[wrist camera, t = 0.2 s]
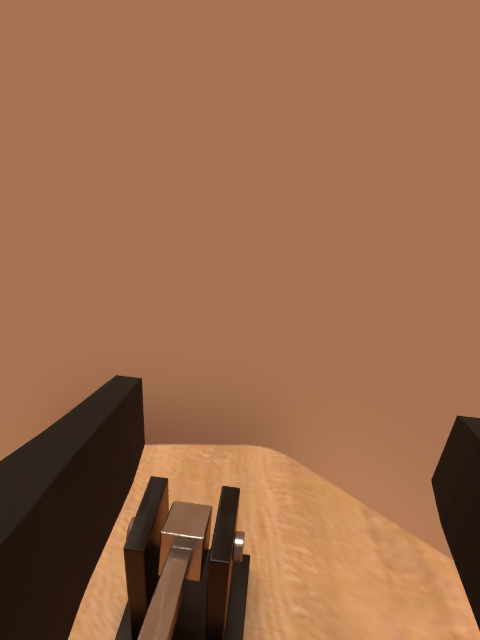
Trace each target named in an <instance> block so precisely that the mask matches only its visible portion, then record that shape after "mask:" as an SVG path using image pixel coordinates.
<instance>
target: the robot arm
mask: <svg viewBox="0 0 480 640" xmlns="http://www.w3.org/2000/svg"><path fill="white" fill-rule="evenodd" d="M144 445H145V440H144V416H143V394H142V378H134V377H125V376H118V375H116V376H115V377H114V378H112V379H111V380H110V381H108V382H107V383H106V384H104V385H103V386H102V387H100V388H99V389H98V390H97V391H95V392H94V393H93V394H92V395H90V396H89V397H88V398H87V399H85V400H84V401H83V402H82V403H80V404H79V405H78V406H76V407H75V408H74V409H72V410H71V411H70V412H69V413H67V414H66V415H65V416H63V417H62V418H61V419H59V420H58V421H57V422H55V423H54V424H53V425H51V426H50V427H49V428H47V429H46V430H45V431H43V432H42V433H40V434H39V435H38V436H36V437H35V438H33V439H32V440H30V441H29V442H27V443H26V444H25V445H23V446H22V447H20V448H19V449H17V450H16V451H14V452H13V453H12V454H10V455H9V456H7V457H6V458H4V459H3V460H1V461H0V640H68V637H69V635H70V632H71V629H72V626H73V623H74V620H75V617H76V614H77V612H78V609H79V606H80V603H81V600H82V598H83V595H84V593H85V590H86V588H87V585H88V583H89V580H90V578H91V576H92V574H93V571H94V569H95V567H96V565H97V562H98V560H99V558H100V556H101V554H102V551H103V549H104V547H105V545H106V542H107V540H108V538H109V536H110V534H111V531H112V529H113V527H114V525H115V522H116V520H117V518H118V516H119V513H120V511H121V509H122V507H123V504H124V502H125V500H126V498H127V495H128V493H129V491H130V488H131V486H132V484H133V481H134V477H135V474H136V471H137V468H138V465H139V462H140V458H141V455H142V452H143V448H144ZM432 486H433V491H434V495H435V500H436V505H437V509H438V512H439V517H440V522H441V525H442V528H443V531H444V534H445V537H446V540H447V543H448V545H449V548H450V551H451V554H452V556H453V559H454V562H455V565H456V568H457V570H458V573H459V576H460V578H461V581H462V584H463V587H464V589H465V592H466V595H467V597H468V600H469V603H470V606H471V608H472V611H473V614H474V616H475V619H476V622H477V625H478V627H479V630H480V418H473V417H464V416H457V418H456V420H455V423H454V425H453V428H452V430H451V433H450V435H449V437H448V440H447V443H446V445H445V447H444V450H443V452H442V455H441V457H440V460H439V463H438V465H437V467H436V470H435V472H434V475H433V477H432Z"/></svg>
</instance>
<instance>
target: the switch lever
mask: <svg viewBox="0 0 480 640" xmlns="http://www.w3.org/2000/svg"><path fill="white" fill-rule="evenodd" d="M211 518H212V506H208V505H201V504H193V503H186V502H178V501H174V502H173V504H172V506H171V509H170V511H169V513H168V516H167V518H166V521H165V523H164V525H163V528H162V530H161V533H160V546H159V560H158V575H159V576H160V578H159V580H158V583H157V586H156V589H155V592H154V594H153V597H152V600H151V603H150V605H149V608H148V611H147V614H146V617H145V619H144V622H143V625H142V628H141V631H140V633H139V636H138V639H137V640H171V639H172V635H173V631H174V627H175V624H176V620H177V616H178V613H179V609H180V605H181V602H182V598H183V594H184V590H185V587H186V583H187V580H193V581H201V578H202V574H203V569H204V565H205V560H206V556H207V552H208V547H209V540H210V529H211Z"/></svg>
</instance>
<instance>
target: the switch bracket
mask: <svg viewBox="0 0 480 640" xmlns="http://www.w3.org/2000/svg"><path fill="white" fill-rule="evenodd" d="M239 496H240V488H236V487H228V486H223V487H222V490H221V495H220V501H219V507H218V512H217V518H216V523H215V529H214V534H213V540H212V545H211V550H210V549H208V552H207V556H206V560H205V565H204V569H203V574H202V578H201V581H193V580H187V583H186V587H185V590H184V594H183V598H182V602H181V605H180V609H179V613H178V616H177V620H176V624H175V627H174V631H173V635H172V639H171V640H243V630H244V619H245V607H246V596H247V585H248V574H249V563H250V555H246V554H243V545H244V536H245V532H241V531H236V530H237V519H238V507H239ZM168 513H169V501H168V478H161V477H154V476H151V477H150V480H149V482H148V485H147V488H146V490H145V493H144V496H143V498H142V501H141V504H140V506H139V509H138V511H137V514H136V517H133V518H132V519H131V521H130V523H129V526H128V530H127V536H126V543H125V546H124V559H125V570H126V581H127V592H128V602H127V605H126V608H125V611H124V614H123V617H122V620H121V623H120V626H119V629H118V632H117V635H116V638H115V640H137V639H138V636H139V633H140V631H141V628H142V625H143V622H144V619H145V617H146V614H147V611H148V608H149V605H150V603H151V600H152V597H153V594H154V592H155V589H156V586H157V583H158V580H159V578H160V576H159V575H158V560H159V546H160V533H161V530H162V528H163V525H164V523H165V521H166V518H167V516H168Z"/></svg>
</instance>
